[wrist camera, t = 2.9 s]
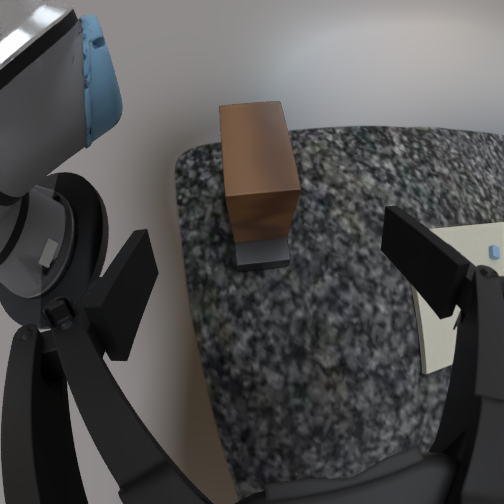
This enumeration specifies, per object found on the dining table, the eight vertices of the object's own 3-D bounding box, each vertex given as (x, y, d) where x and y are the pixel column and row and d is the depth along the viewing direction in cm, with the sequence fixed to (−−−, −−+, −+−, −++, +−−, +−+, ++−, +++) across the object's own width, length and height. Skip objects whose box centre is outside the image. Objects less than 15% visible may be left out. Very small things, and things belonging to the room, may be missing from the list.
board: (421, 373, 23) (426, 374, 22) (399, 234, 28) (403, 231, 27) (529, 323, 24) (533, 322, 23) (508, 223, 28) (512, 221, 27)
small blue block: (489, 257, 25) (493, 255, 25) (488, 246, 26) (492, 244, 25) (495, 260, 25) (500, 258, 24) (495, 249, 26) (499, 247, 25)
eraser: (238, 272, 27) (227, 227, 16) (228, 164, 30) (218, 89, 20) (287, 266, 27) (307, 219, 16) (270, 160, 30) (276, 85, 20)
